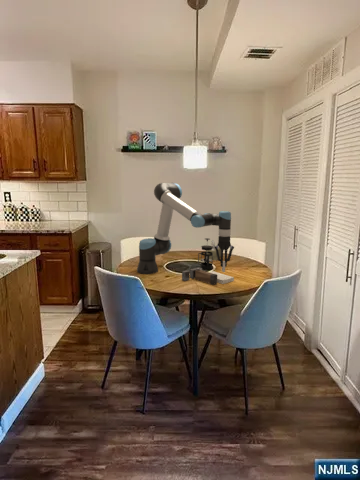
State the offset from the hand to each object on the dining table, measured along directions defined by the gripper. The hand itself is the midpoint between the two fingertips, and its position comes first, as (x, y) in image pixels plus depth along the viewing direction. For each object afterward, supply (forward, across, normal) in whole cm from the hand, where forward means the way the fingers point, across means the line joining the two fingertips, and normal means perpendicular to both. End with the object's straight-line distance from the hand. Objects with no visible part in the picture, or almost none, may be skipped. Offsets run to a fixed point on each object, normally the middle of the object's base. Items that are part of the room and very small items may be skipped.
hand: (223, 271), depth 209 cm
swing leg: (+7, +11, -3) cm, 13 cm away
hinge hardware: (+7, +18, -9) cm, 22 cm away
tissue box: (+8, -6, -70) cm, 71 cm away
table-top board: (+8, +2, -8) cm, 12 cm away
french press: (+8, +6, -36) cm, 37 cm away
